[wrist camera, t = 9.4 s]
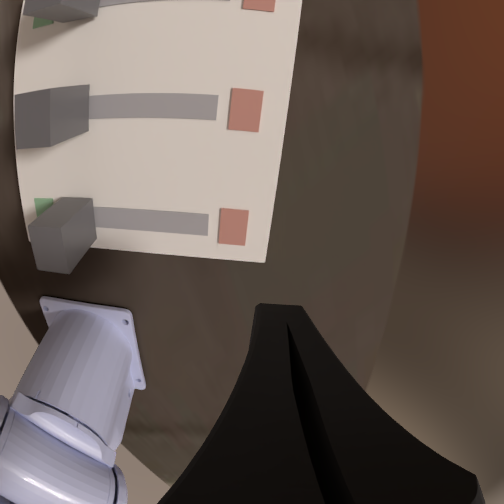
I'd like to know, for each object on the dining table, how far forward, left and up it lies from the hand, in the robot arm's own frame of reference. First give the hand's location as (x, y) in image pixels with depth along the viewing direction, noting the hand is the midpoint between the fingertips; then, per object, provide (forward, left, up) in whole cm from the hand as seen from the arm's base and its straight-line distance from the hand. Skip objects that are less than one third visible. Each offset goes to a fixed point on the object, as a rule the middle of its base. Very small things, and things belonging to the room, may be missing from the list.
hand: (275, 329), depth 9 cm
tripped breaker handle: (+5, +10, -8) cm, 14 cm away
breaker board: (+6, +7, -9) cm, 13 cm away
